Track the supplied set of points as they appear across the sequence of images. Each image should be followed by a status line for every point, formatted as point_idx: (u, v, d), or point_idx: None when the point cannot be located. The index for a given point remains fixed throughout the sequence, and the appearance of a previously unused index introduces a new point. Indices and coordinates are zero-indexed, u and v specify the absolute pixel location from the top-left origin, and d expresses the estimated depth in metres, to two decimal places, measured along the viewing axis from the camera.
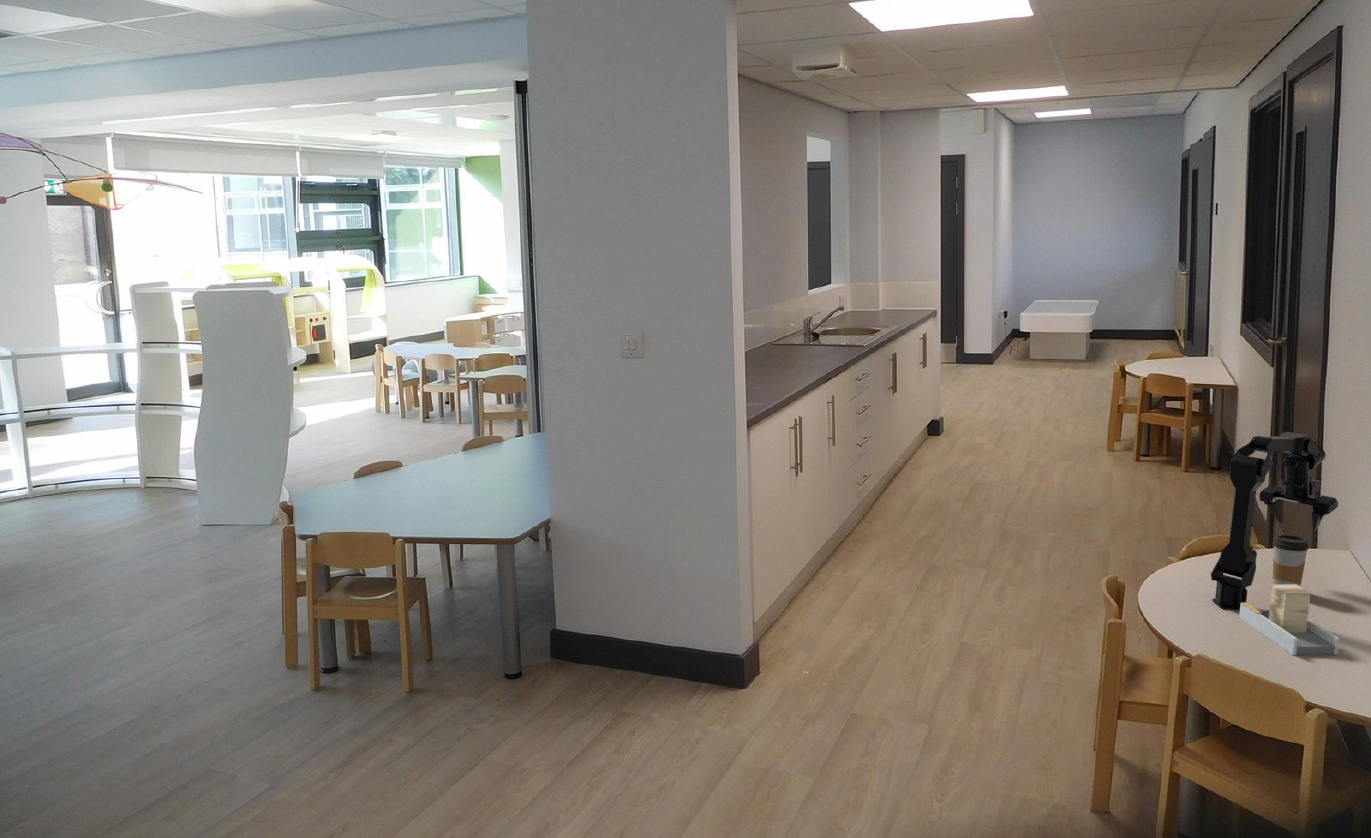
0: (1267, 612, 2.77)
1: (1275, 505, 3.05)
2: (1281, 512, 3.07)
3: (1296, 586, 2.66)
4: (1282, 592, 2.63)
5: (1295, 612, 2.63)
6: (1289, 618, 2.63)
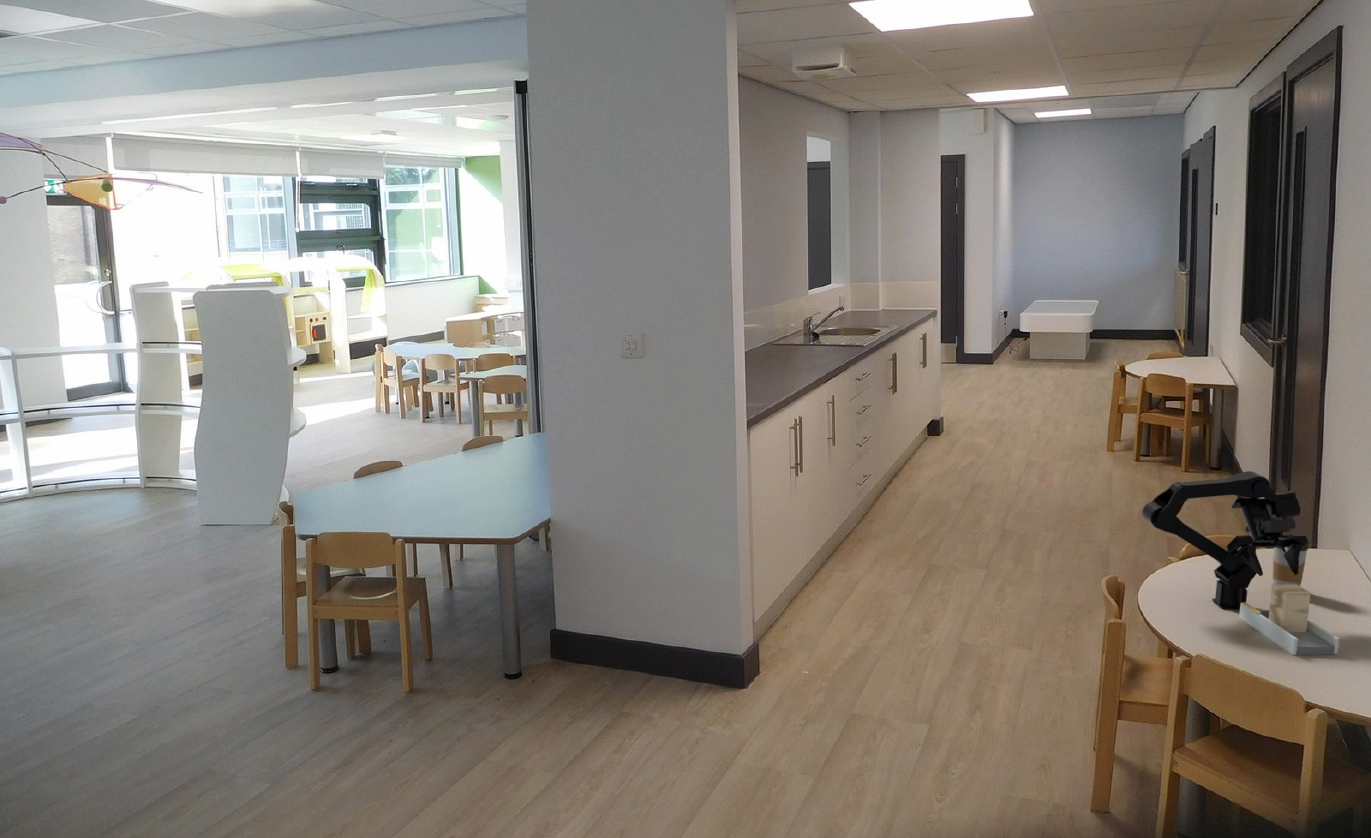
0: (1267, 612, 2.77)
1: (1285, 555, 2.78)
2: (1292, 561, 2.74)
3: (1296, 586, 2.66)
4: (1282, 592, 2.63)
5: (1295, 612, 2.63)
6: (1289, 618, 2.63)
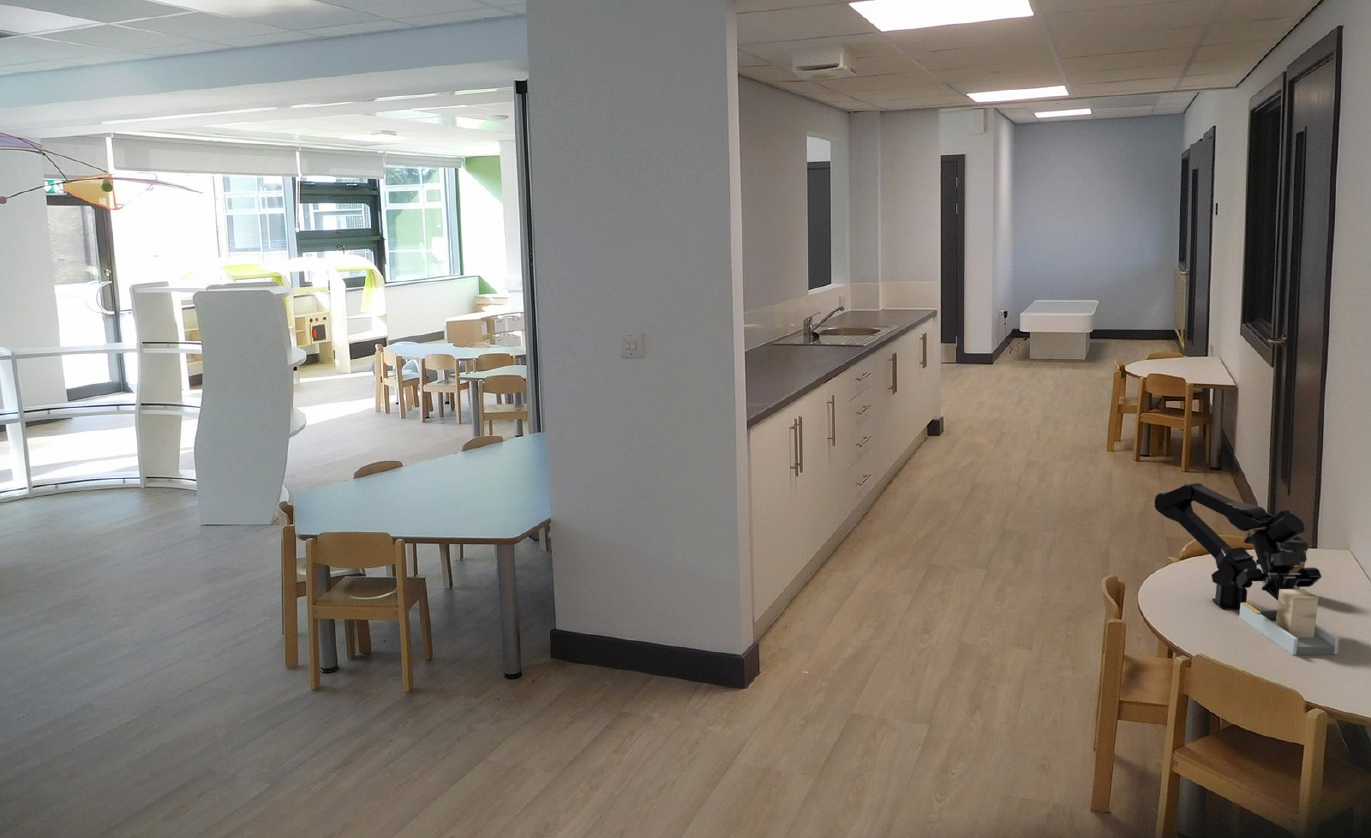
0: (1267, 612, 2.77)
1: None
2: None
3: (1304, 591, 2.63)
4: (1289, 597, 2.60)
5: (1302, 617, 2.59)
6: (1297, 623, 2.60)
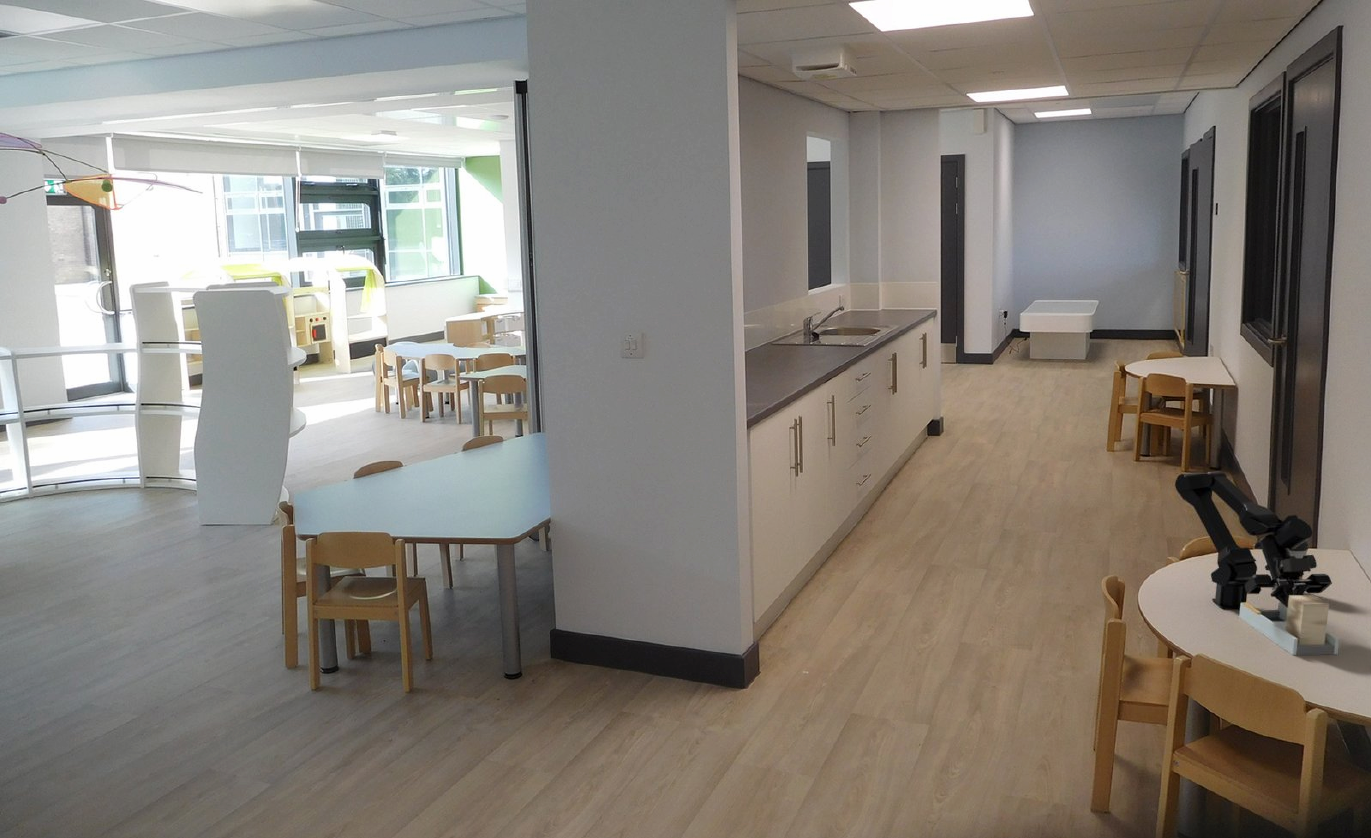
0: (1267, 612, 2.77)
1: None
2: None
3: (1314, 597, 2.59)
4: (1299, 603, 2.56)
5: (1313, 624, 2.55)
6: (1307, 630, 2.55)
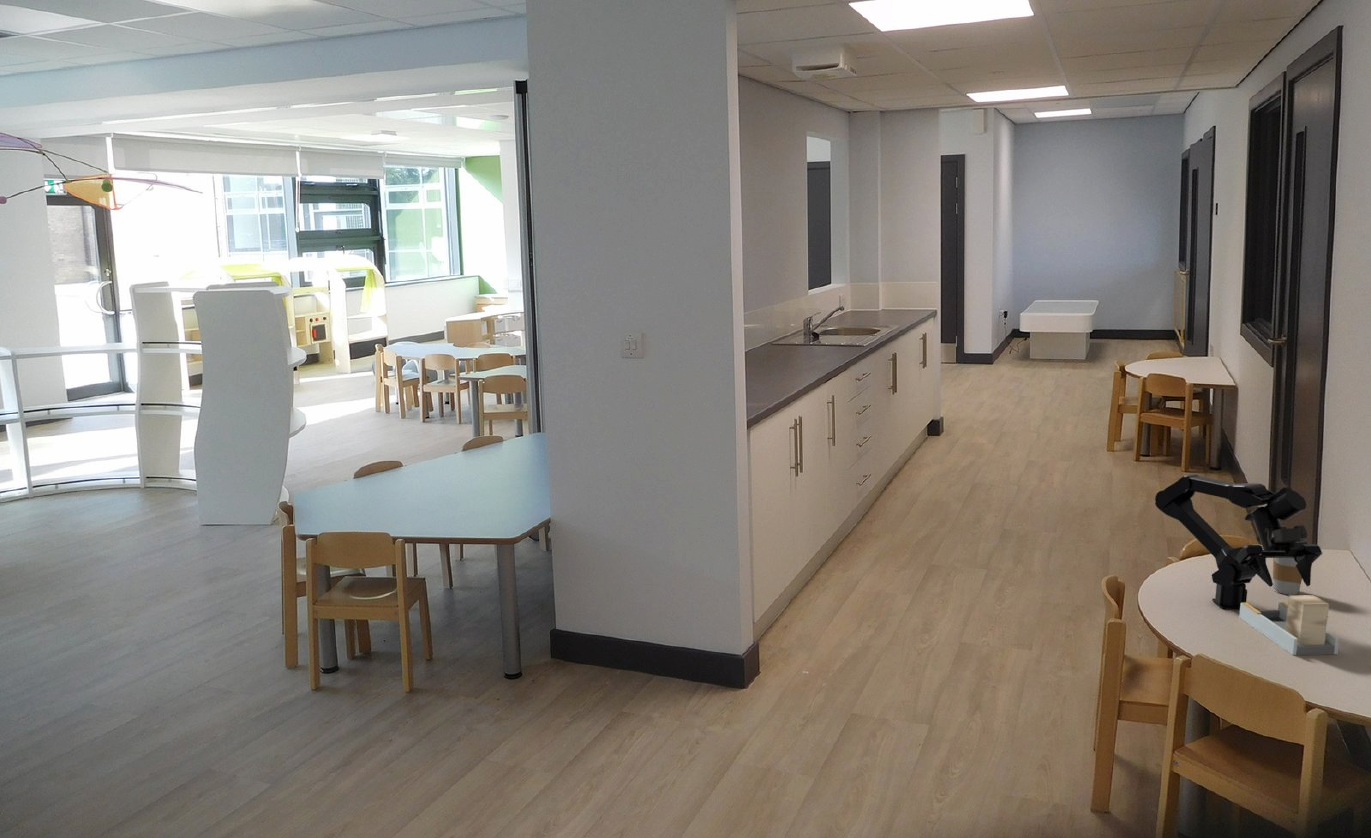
0: (1267, 612, 2.77)
1: (1297, 565, 2.71)
2: (1304, 572, 2.67)
3: (1314, 597, 2.59)
4: (1299, 603, 2.56)
5: (1313, 624, 2.55)
6: (1307, 630, 2.55)
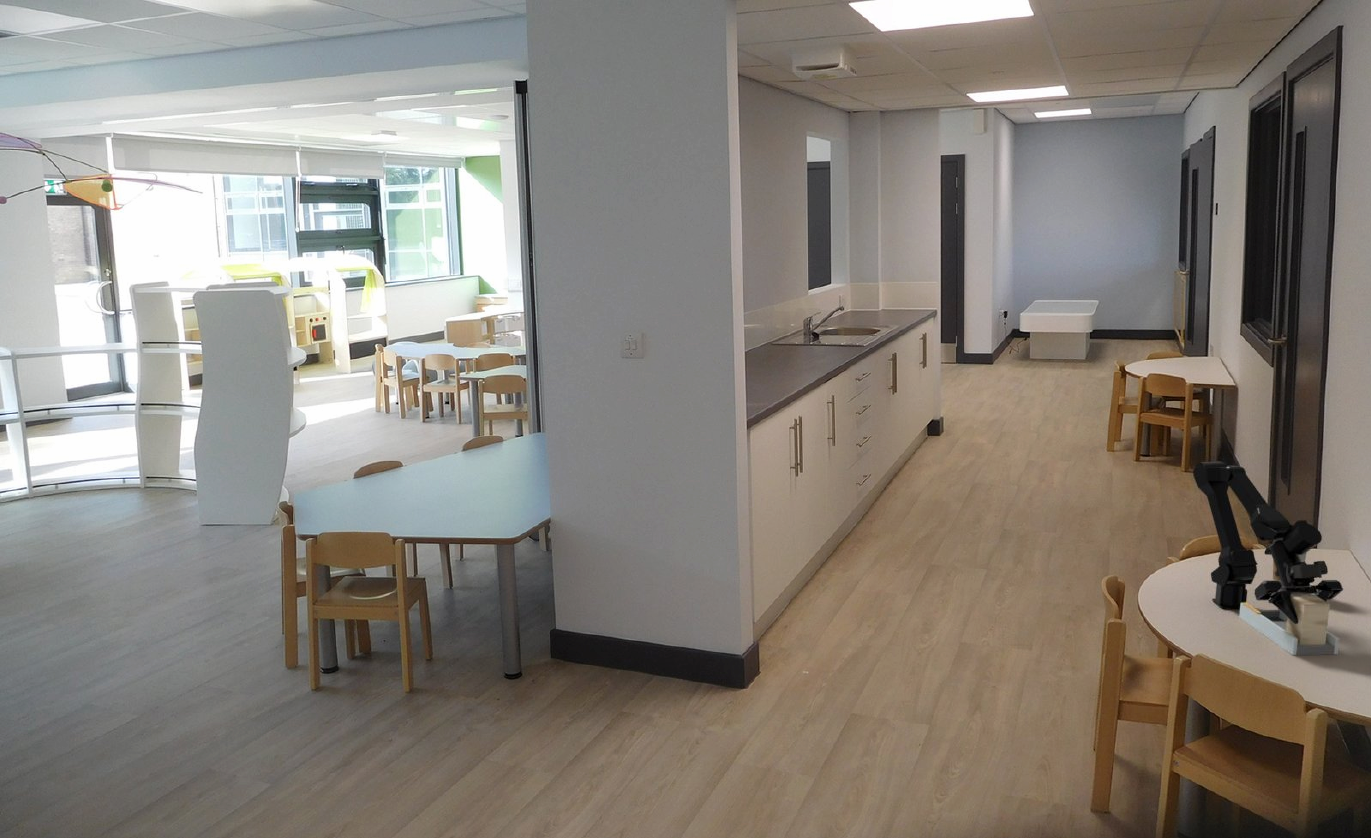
0: (1267, 612, 2.77)
1: None
2: None
3: (1315, 597, 2.59)
4: (1300, 603, 2.56)
5: (1314, 624, 2.55)
6: (1308, 630, 2.55)
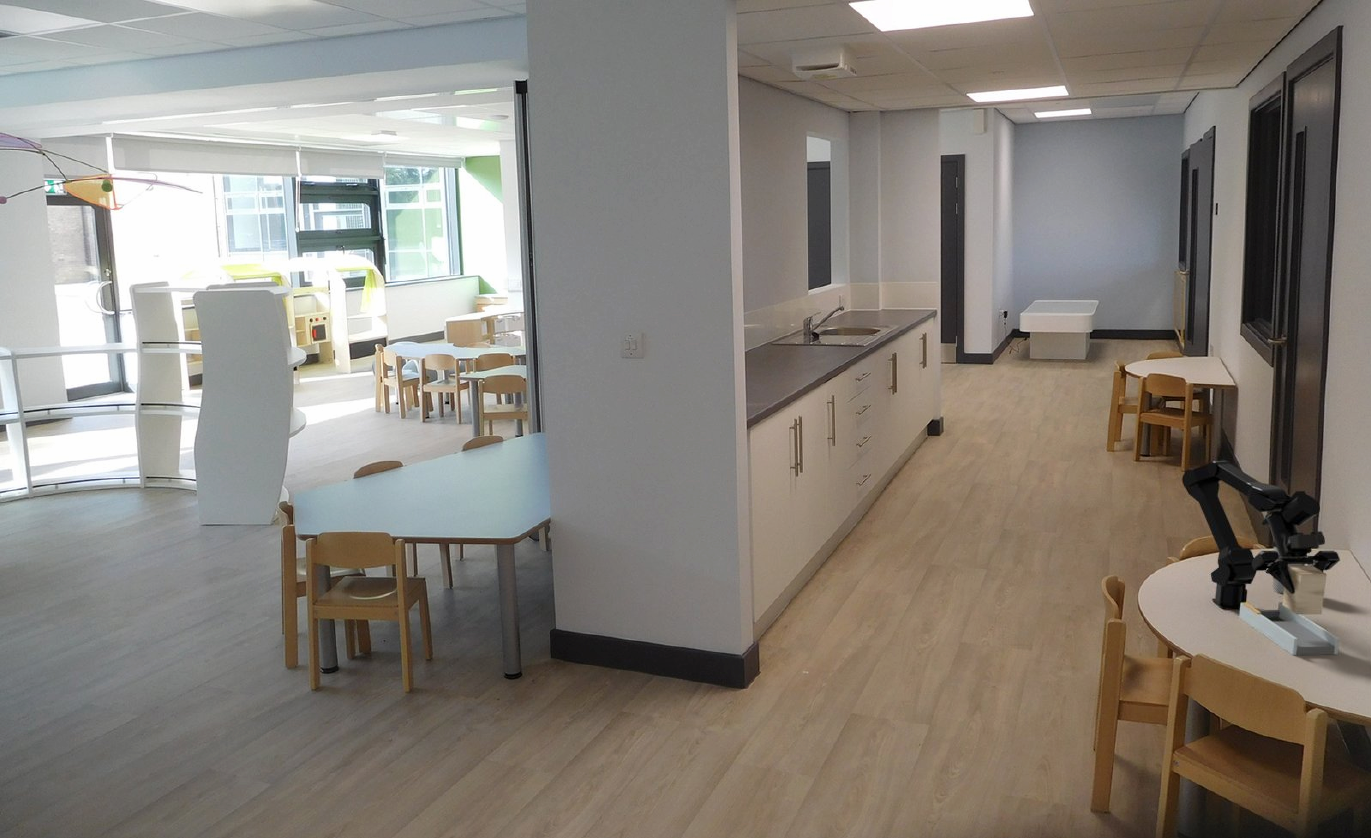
0: (1267, 612, 2.77)
1: None
2: None
3: (1312, 567, 2.60)
4: (1297, 573, 2.57)
5: (1310, 593, 2.56)
6: (1304, 599, 2.57)
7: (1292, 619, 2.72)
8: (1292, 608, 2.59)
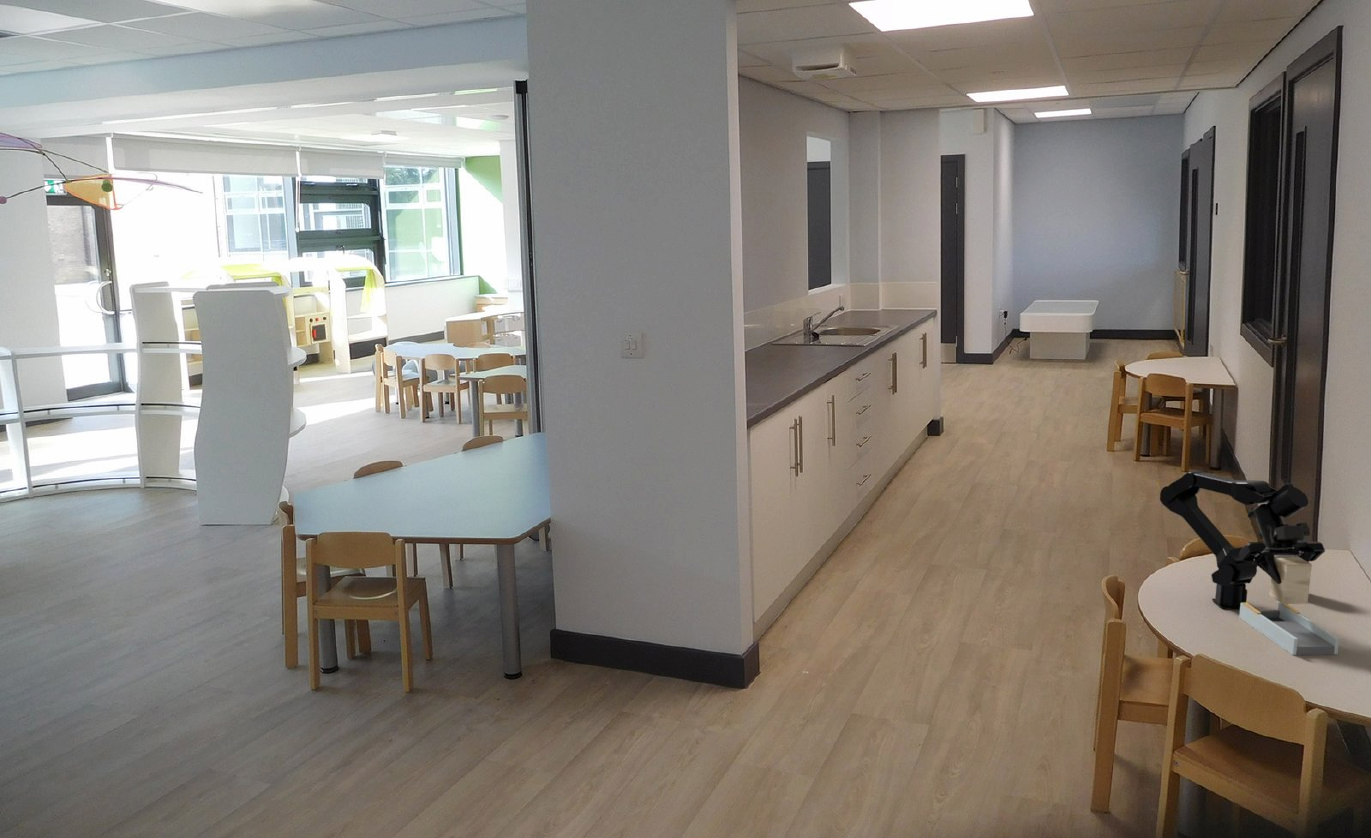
0: (1267, 612, 2.77)
1: None
2: None
3: (1297, 558, 2.66)
4: (1283, 564, 2.63)
5: (1296, 583, 2.62)
6: (1291, 589, 2.62)
7: (1292, 619, 2.72)
8: (1279, 598, 2.65)
